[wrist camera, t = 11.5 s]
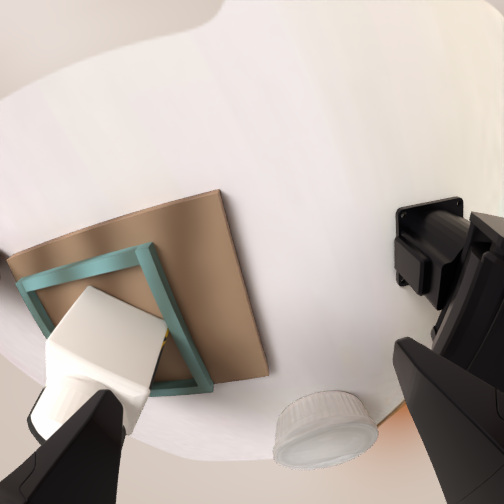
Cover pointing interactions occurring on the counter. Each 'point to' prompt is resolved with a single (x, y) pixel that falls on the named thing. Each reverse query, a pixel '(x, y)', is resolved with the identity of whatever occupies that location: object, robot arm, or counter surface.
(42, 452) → the robot arm
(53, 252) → the socket board
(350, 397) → the ramekin
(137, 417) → the medicine bottle
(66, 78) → the counter surface
